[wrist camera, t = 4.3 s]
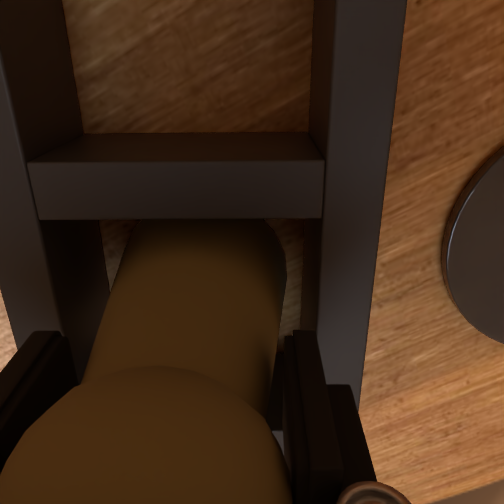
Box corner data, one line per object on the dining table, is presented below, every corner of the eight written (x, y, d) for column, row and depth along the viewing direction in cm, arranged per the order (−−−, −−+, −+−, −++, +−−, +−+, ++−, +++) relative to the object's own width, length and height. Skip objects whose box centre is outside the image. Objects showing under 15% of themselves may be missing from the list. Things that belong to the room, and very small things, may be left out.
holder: (387, -244, 11) (456, -400, 7) (333, 382, 18) (352, 464, 15) (-39, -236, 11) (-192, -383, 7) (89, 382, 19) (48, 464, 15)
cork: (106, 314, 17) (-105, 687, 7) (146, 169, 15) (-91, 425, 5) (253, 359, 18) (248, 751, 8) (313, 228, 16) (413, 553, 6)
